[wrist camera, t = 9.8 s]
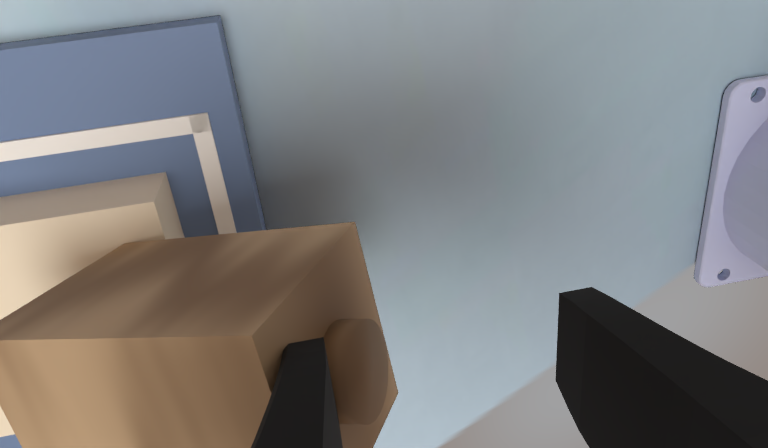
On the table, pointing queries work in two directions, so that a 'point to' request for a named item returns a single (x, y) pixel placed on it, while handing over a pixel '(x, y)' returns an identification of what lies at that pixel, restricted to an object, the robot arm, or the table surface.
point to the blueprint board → (115, 151)
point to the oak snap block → (194, 342)
